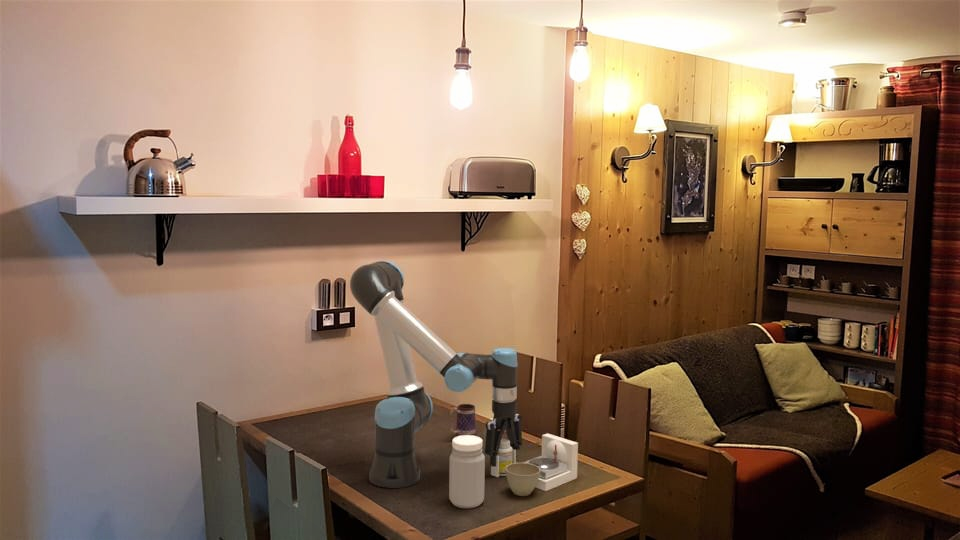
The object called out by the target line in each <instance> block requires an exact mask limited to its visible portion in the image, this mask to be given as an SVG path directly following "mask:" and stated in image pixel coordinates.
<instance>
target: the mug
mask: <svg viewBox="0 0 960 540" xmlns="http://www.w3.org/2000/svg"><path fill="white" fill-rule="evenodd" d="M455 412H456V427H455V430H454V418H453V416H454V413H455ZM449 430H450V432H451V433H453V434H455V437H457V436H462V435H473V436H477V435H476V433H477V427H476V406H475V405H474V404H471V403H462V404H458V405H457V407H452V408H450V411H449Z"/></svg>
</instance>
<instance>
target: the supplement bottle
mask: <svg viewBox="0 0 960 540" xmlns="http://www.w3.org/2000/svg"><path fill="white" fill-rule="evenodd" d="M497 455H498V456H499V477H500V476H501V477H507V476H506V470H505V468H506V466H507V465H509V464H512V447H511V446H510V441H509V440H508V438H507V439H506V438H501V442H500V446H499V450H498V454H497Z"/></svg>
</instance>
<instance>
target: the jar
mask: <svg viewBox="0 0 960 540" xmlns="http://www.w3.org/2000/svg"><path fill="white" fill-rule="evenodd" d="M483 441H484V440H483V439H482V438H481V437H480V436H477V435H476V436H473V435H462V436H457V437H456V436H455V437H453V439H452V441H451V445H452V446H451V447H452V449H451V451H452V452H451V454H450V455H449V471H448V472H449V478H448V481H449V482H448V483H449V484H448V487H449V488H448V489H449V490H448V493H449V494H448V497H449V498H448V499H449V500H450V502H451V503H452V504H453V506H454V507H457V508H460V509H473V508H477V507H479V506H481V504H482V503H483V502H484V500H485V482H486V481H485V480H486V479H485V476H486V475H485V474H486V472H485V471H486V467H485V464H486V463H485V462H486V456H485V455H484V454H485V453H483V450H484V449H483Z"/></svg>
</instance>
